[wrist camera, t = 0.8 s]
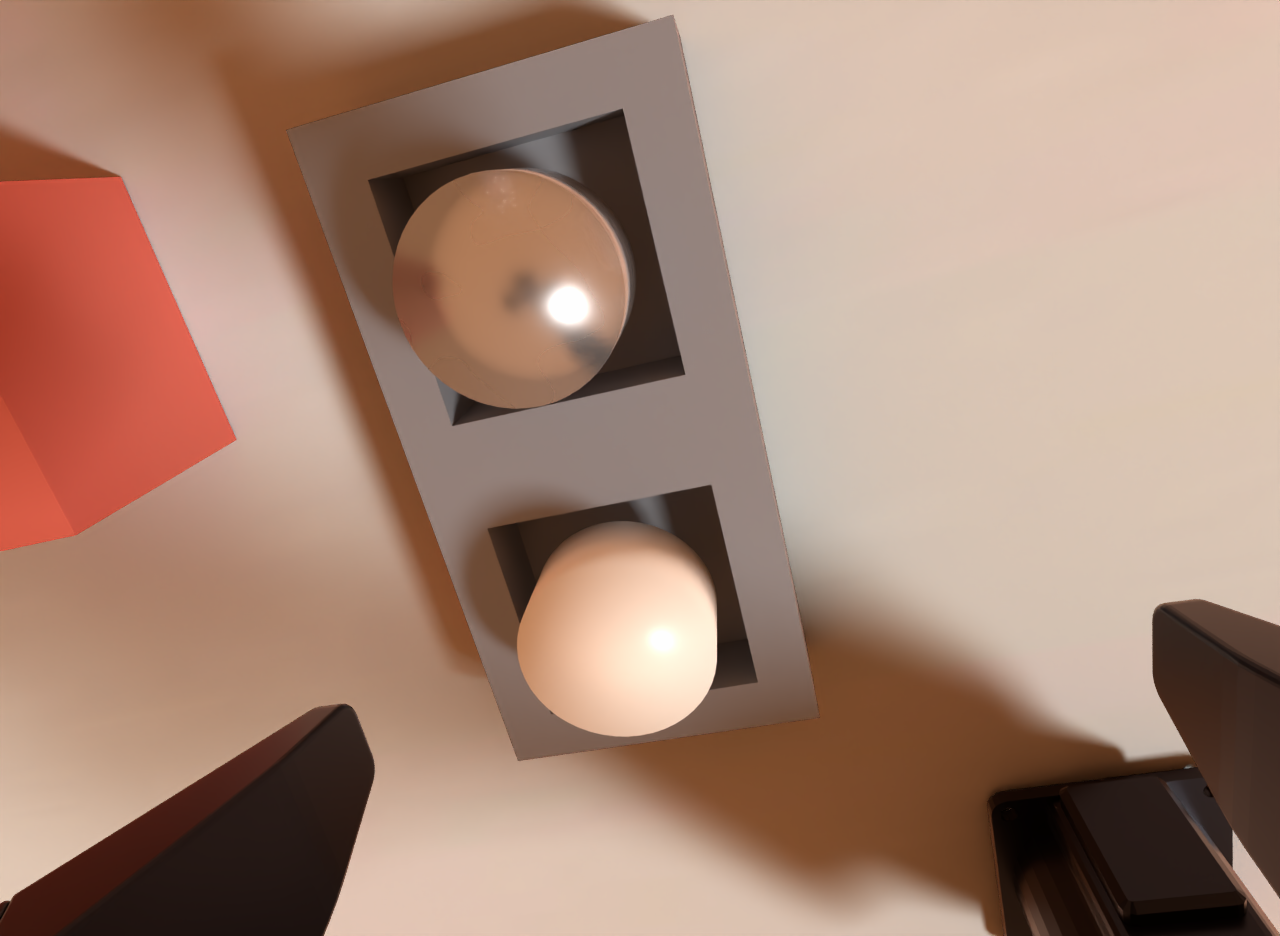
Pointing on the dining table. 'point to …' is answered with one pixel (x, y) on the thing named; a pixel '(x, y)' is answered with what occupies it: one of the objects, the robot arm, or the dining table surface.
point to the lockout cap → (90, 362)
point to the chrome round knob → (514, 285)
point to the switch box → (612, 400)
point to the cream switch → (621, 630)
